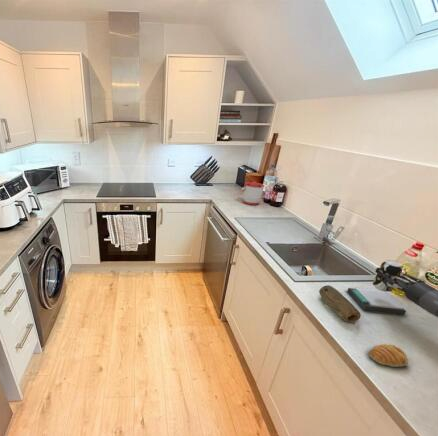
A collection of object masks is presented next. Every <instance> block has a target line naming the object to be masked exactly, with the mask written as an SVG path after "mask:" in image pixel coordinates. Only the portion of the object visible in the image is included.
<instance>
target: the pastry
mask: <svg viewBox="0 0 438 436" xmlns="http://www.w3.org/2000/svg"><path fill="white" fill-rule="evenodd" d="M368 355H369V357H370V358H371V359H372V360H373V361H375V362H376V363H378V364H379V365H383V366H388V367H391V368H394V367H395V368H398V367H405V366H408V365H410V363H409V359H408V357H407V353H406V352H405V351H404V350H403V349H401V348H400V347H398V346H396V345H394V344H379V345H375V346H374V347H373V348H372V349H371V350H369V354H368Z"/></svg>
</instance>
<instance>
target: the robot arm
mask: <svg viewBox="0 0 438 436" xmlns="http://www.w3.org/2000/svg"><path fill="white" fill-rule="evenodd" d="M379 269H380V267H376V268H375V273H376V274H377V273H378V274H380V272H381V271H380V270H379ZM389 277H391V279H390V278H389ZM381 281H382V282H383V283H384V284H385V285H386V287H387V288H389V289H391V288H392V287H393V289H394V288H395V289H397V290H398V291H400V292H403V293H404V296H405V297H406V299H407V300H409V301H410V302H412V303H413V304H415V305H416V306H418V307H419V308H421V309H422V310H424V311H426V312H427V313H429V314H430V315H433V316H435V317H436V318H438V289H437V288H435V287H434V286H432V285H430V284H428V283H426V281H425V280H423V279H421V278H418V277H415V276H413V275H410V274H408V273H405V272H404V273H401V274H400V276H399V277H398V276H393V275H390V274H388V273H386V274H383V275H382V277H381Z"/></svg>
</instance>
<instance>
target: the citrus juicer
mask: <svg viewBox="0 0 438 436" xmlns="http://www.w3.org/2000/svg"><path fill="white" fill-rule="evenodd" d="M264 188H265V185H264V184H263V183H259V182H257V181H256V180H254V181H251V182H250V181H249V182H248V181H247V182H245V183H244V186H242V188H241V191H243V193H242V198H243V203H244V204H246V205H249V206H257V205H259V203H260V201H261V200H262V197H263V192H264Z"/></svg>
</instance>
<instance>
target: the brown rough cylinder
mask: <svg viewBox="0 0 438 436" xmlns="http://www.w3.org/2000/svg"><path fill="white" fill-rule="evenodd" d="M318 293H319V296H320V297H321V299H322V300H323V301H324V302H325V303H326V305H328V307H329V308H330V309H331V310H332V311H333V313H335V314H336V315H337V316H338V317H339V318H340V319H342V320H344V322H349V323H355V322H358V321H359V320H360V319H361V317H362V315H361V313H360V311H359V310H358V308H357V307H356V306H355V305H354V304H353V303H351V301H350V300H348V298H346V297H345V296H344V295H343V294H342V293H341V292H340V291H339V290H338V289H336V288H335V287H334V286H331V285H328V284H326V285H323V286H322V287H321V288H320V289H319V290H318Z"/></svg>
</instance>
